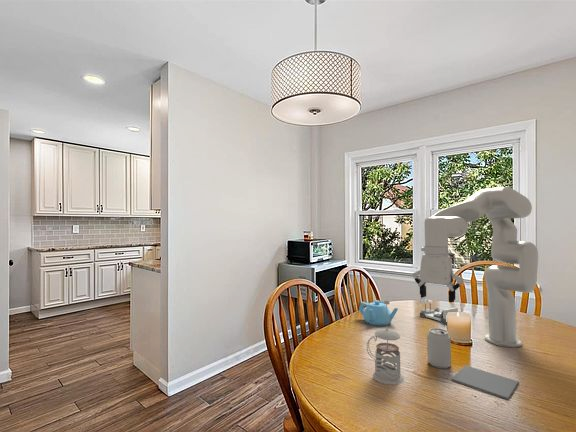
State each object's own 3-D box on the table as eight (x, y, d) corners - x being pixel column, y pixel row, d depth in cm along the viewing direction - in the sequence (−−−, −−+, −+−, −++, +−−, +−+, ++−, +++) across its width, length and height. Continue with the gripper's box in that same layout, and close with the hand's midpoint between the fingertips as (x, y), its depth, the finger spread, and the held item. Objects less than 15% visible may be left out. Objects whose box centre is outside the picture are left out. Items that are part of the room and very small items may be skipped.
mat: (465, 366, 107) (465, 365, 107) (518, 383, 96) (518, 381, 96) (451, 380, 98) (451, 378, 98) (508, 399, 87) (508, 397, 87)
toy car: (415, 297, 167) (429, 295, 172) (415, 315, 166) (430, 312, 172) (445, 305, 151) (460, 302, 156) (445, 325, 150) (460, 321, 156)
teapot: (384, 316, 165) (384, 296, 165) (399, 325, 150) (399, 303, 150) (357, 318, 162) (357, 297, 162) (370, 327, 147) (369, 305, 148)
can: (454, 370, 104) (453, 334, 105) (430, 368, 106) (429, 333, 106) (447, 360, 112) (446, 327, 112) (425, 359, 113) (424, 326, 113)
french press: (400, 387, 94) (398, 305, 94) (363, 378, 100) (361, 300, 101) (406, 374, 102) (405, 298, 103) (372, 365, 108) (370, 294, 109)
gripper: (408, 250, 114) (408, 296, 113) (458, 253, 101) (459, 306, 101) (417, 249, 119) (417, 293, 118) (466, 252, 106) (467, 302, 106)
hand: (437, 299), depth 109 cm, fingers open, 9 cm apart
